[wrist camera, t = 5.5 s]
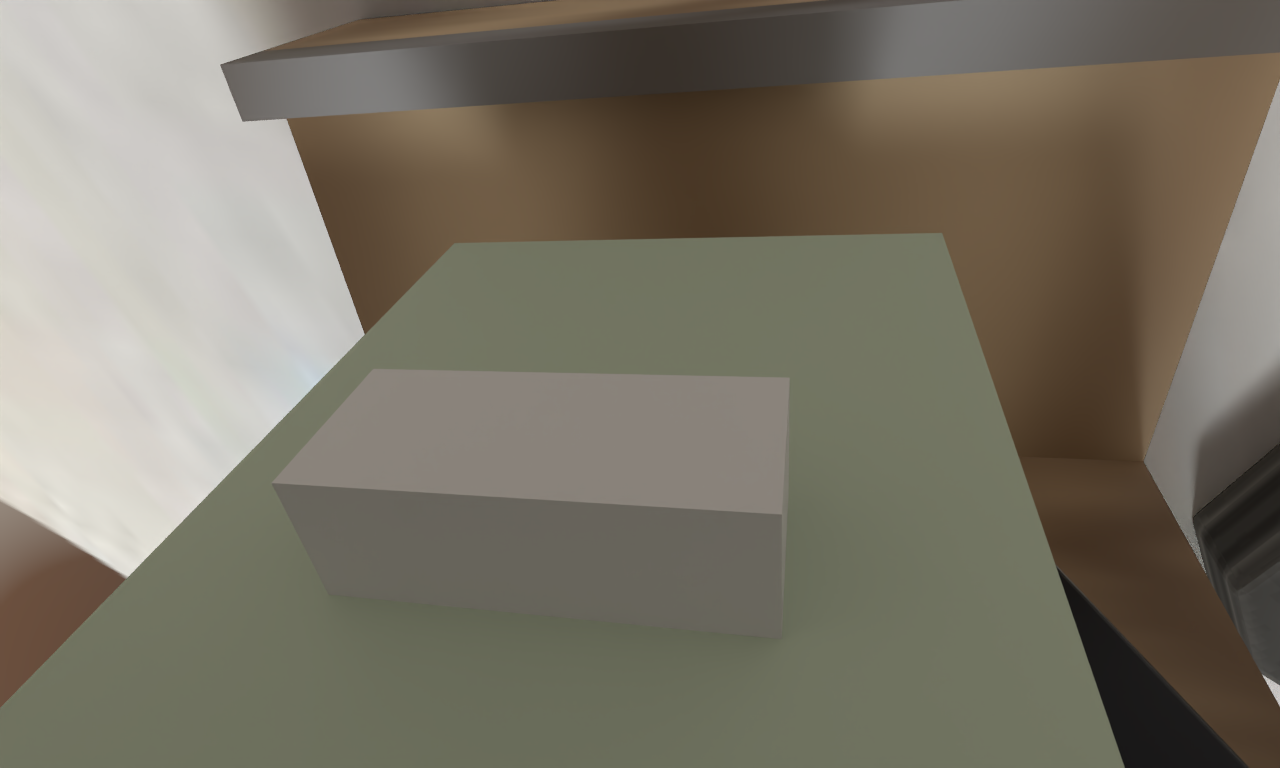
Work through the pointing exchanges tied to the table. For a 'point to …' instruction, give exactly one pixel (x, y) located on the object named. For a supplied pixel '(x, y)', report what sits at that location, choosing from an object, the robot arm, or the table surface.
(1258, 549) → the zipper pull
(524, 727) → the cabinet block
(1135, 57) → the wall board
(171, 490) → the table surface
